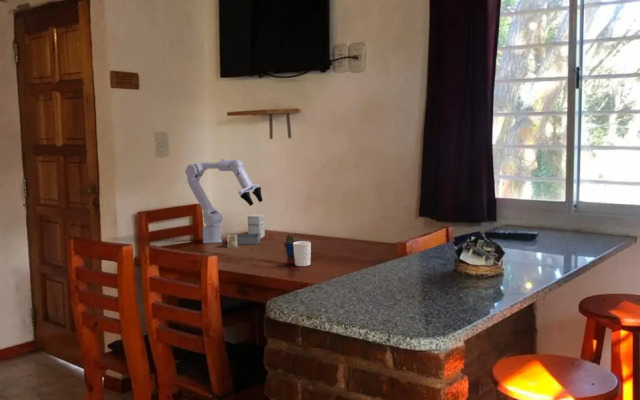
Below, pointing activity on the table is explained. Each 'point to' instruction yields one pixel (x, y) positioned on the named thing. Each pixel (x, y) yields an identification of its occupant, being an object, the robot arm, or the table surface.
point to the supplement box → (256, 224)
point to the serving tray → (248, 239)
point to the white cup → (302, 253)
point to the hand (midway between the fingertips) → (256, 203)
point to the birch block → (232, 241)
